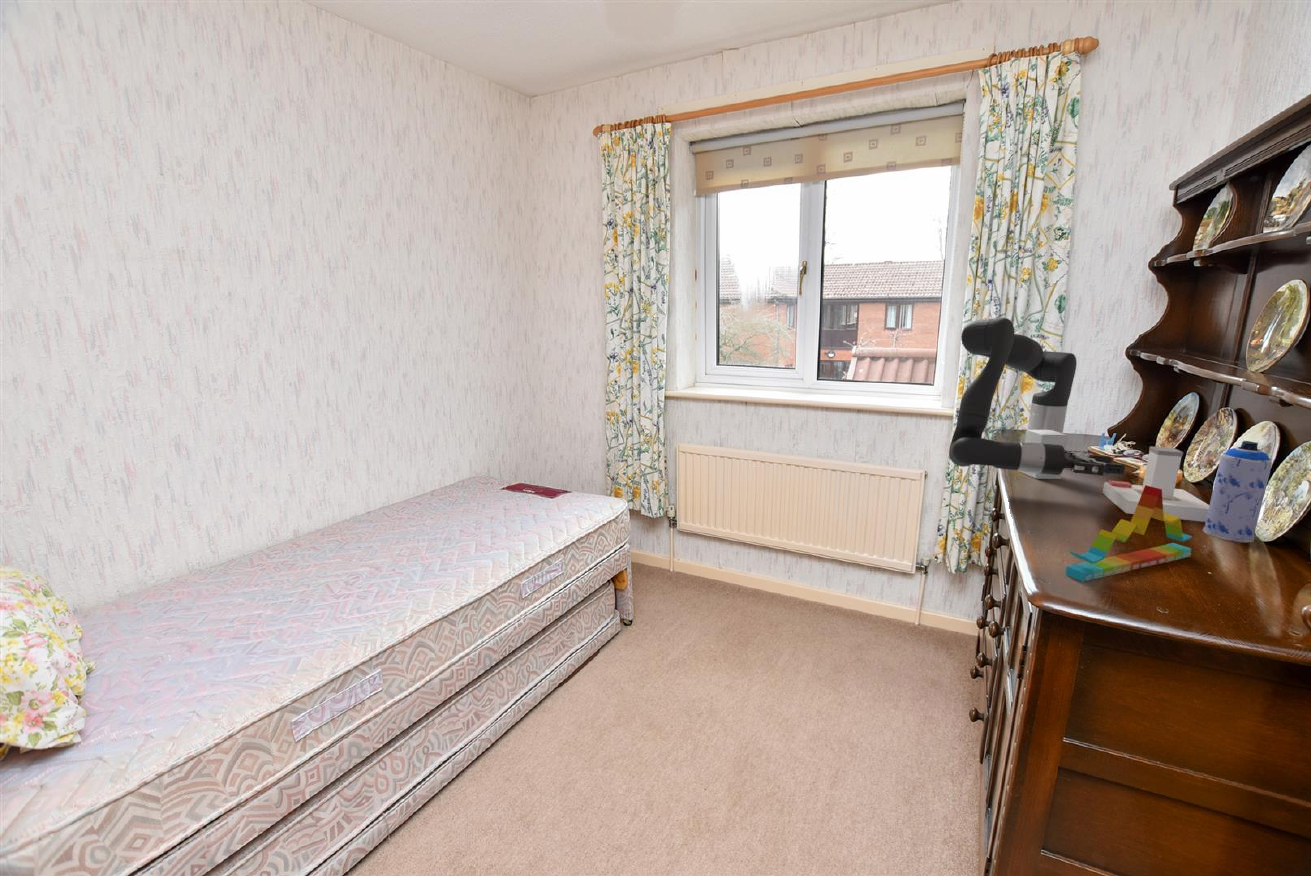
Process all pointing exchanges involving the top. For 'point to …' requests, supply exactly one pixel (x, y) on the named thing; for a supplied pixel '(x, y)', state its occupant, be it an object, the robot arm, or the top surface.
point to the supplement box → (1045, 438)
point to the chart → (1122, 563)
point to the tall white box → (1162, 470)
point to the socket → (1178, 506)
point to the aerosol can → (1238, 493)
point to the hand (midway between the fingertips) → (1117, 465)
